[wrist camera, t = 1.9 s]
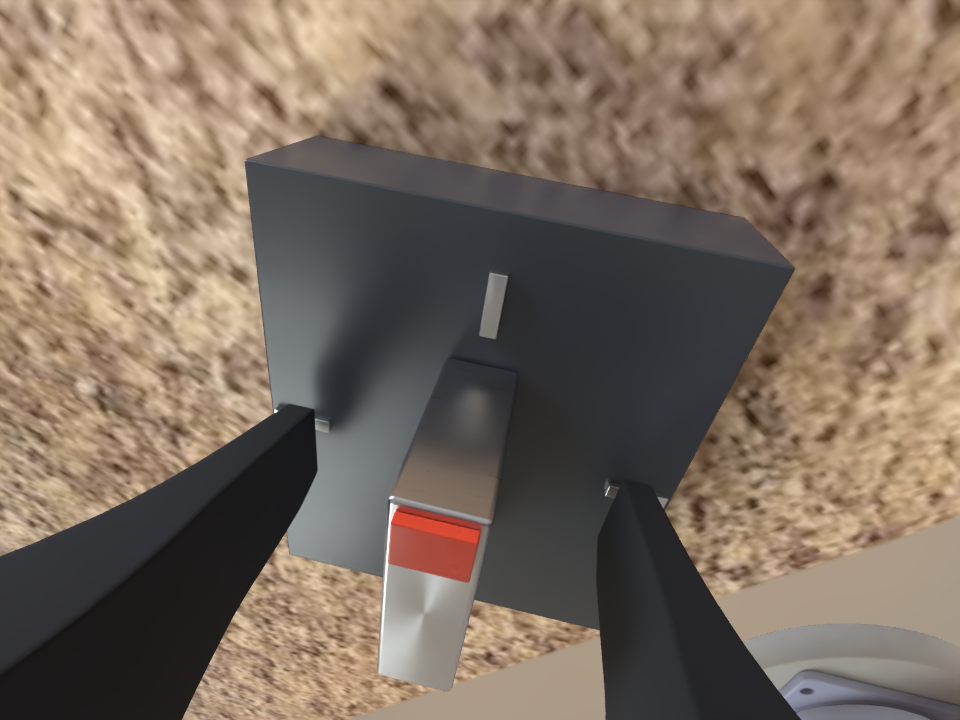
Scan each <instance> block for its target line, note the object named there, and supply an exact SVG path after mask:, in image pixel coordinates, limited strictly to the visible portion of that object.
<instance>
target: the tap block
mask: <svg viewBox="0 0 960 720" xmlns="http://www.w3.org/2000/svg"><path fill="white" fill-rule="evenodd" d="M245 169H246V178H247V186H248V195H249V204H250V213H251V222H252V230H253V239H254V248H255V257H256V265H257V274H258V283H259V292H260V301H261V309H262V318H263V327H264V336H265V345H266V353H267V362H268V371H269V380H270V388H271V397H272V406H273V414H274V413H275V412H277V411H279V410H280V409H282V408H283V407H285V406H286V405H288V404H294V405H298V406H303V407H307V408H312V409H315V428H316V446H317V465H318V472H317V474H316V476H315V478H314V481H313V483H312V485H311V487H310V489H309V492H308V494H307V496H306V498H305V500H304V502H303V504H302V506H301V508H300V510H299V512H298V513H297V515H296V517H295V518H294V520H293V521H292V523H291V525H290V526H289V528H288V529H287V538H288V546H289V554H290V555H294V556H298V557H302V558H306V559H310V560H314V561H318V562H322V563H327V564H331V565H335V566H339V567H343V568H347V569H351V570H355V571H359V572H363V573H367V574H371V575H376V576H380V577H383V567H384V551H385V535H386V519H387V503H388V496H389V494H390V492H391V489H392V487H393V484H394V482H395V480H396V477H397V475H398V472H399V470H400V468H401V465H402V463H403V461H404V458H405V456H406V453H407V451H408V449H409V446H410V444H411V442H412V439H413V437H414V434H415V432H416V430H417V427H418V425H419V422H420V420H421V418H422V415H423V413H424V411H425V408H426V406H427V403H428V401H429V399H430V396H431V394H432V392H433V389H434V387H435V384H436V382H437V380H438V377H439V375H440V372H441V370H442V368H443V365H444V363H445V361H446V360H447V359H448V358H452V359H456V360H461V361H465V362H470V363H475V364H479V365H484V366H489V367H493V368H498V369H502V370H507V371H512V372H515V373H517V374H518V377H519V379H518V384H517V390H516V396H515V401H514V407H513V413H512V419H511V424H510V430H509V436H508V442H507V447H506V453H505V459H504V464H503V470H502V476H501V482H500V487H499V493H498V499H497V505H496V510H495V516H494V522H493V526H492V530H491V534H490V538H489V542H488V546H487V550H486V554H485V558H484V562H483V566H482V570H481V574H480V578H479V582H478V586H477V590H476V594H475V598H474V600H478V601H482V602H486V603H490V604H494V605H498V606H502V607H506V608H510V609H514V610H518V611H522V612H527V613H531V614H535V615H539V616H543V617H547V618H551V619H555V620H559V621H563V622H567V623H571V624H576V625H580V626H584V627H588V628H592V629H596V630H600V626H599V614H598V601H597V587H596V563H597V540H598V534H599V532H600V530H601V528H602V525H603V523H604V521H605V519H606V516H607V514H608V512H609V510H610V507H611V505H612V503H613V501H614V498H615V496H616V494H617V492H618V489H619V487H620V485H621V483H622V480H623V479H627V480H631V481H635V482H640V483H644V484H649V485H651V486H652V488H653V490H654V492H655V493H656V495H657V497H658V499H659V501H660V503H661V505H662V507H663V509H664V511H665V509H666V507H667V505H668V504H669V502H670V500H671V498H672V496H673V494H674V492H675V491H676V489H677V487H678V485H679V483H680V481H681V479H682V478H683V476H684V474H685V472H686V470H687V468H688V466H689V465H690V463H691V461H692V459H693V457H694V455H695V453H696V452H697V450H698V448H699V446H700V444H701V442H702V440H703V439H704V437H705V435H706V433H707V431H708V429H709V427H710V426H711V424H712V422H713V420H714V418H715V416H716V414H717V413H718V411H719V409H720V407H721V405H722V403H723V401H724V400H725V398H726V396H727V394H728V392H729V390H730V389H731V387H732V385H733V383H734V381H735V379H736V377H737V376H738V374H739V372H740V370H741V368H742V366H743V364H744V363H745V361H746V359H747V357H748V355H749V353H750V351H751V350H752V348H753V346H754V344H755V342H756V340H757V338H758V337H759V335H760V333H761V331H762V329H763V327H764V325H765V324H766V322H767V320H768V318H769V316H770V314H771V312H772V311H773V309H774V307H775V305H776V303H777V301H778V299H779V298H780V296H781V294H782V292H783V290H784V288H785V286H786V285H787V283H788V281H789V279H790V277H791V275H792V273H793V272H794V269H795V268H794V266H793V265H792V264H791V263H790V262H789V261H788V260H787V259H786V258H785V257H784V256H783V255H782V254H781V253H780V252H779V251H778V250H777V249H775V248H774V247H773V246H772V245H771V244H770V243H769V242H768V241H767V240H766V239H765V238H764V237H763V236H762V235H761V234H760V233H759V232H758V231H757V230H756V229H755V228H754V227H753V226H752V225H751V224H750V223H749V222H748V221H747V220H746V219H745V218H742V217H737V216H731V215H726V214H721V213H716V212H711V211H705V210H700V209H695V208H690V207H685V206H679V205H674V204H669V203H664V202H659V201H653V200H648V199H643V198H638V197H633V196H627V195H622V194H617V193H612V192H607V191H601V190H596V189H591V188H586V187H581V186H575V185H570V184H565V183H560V182H555V181H549V180H544V179H539V178H534V177H529V176H523V175H518V174H513V173H508V172H503V171H497V170H492V169H487V168H482V167H477V166H471V165H466V164H461V163H456V162H451V161H445V160H440V159H435V158H430V157H425V156H420V155H414V154H409V153H404V152H399V151H394V150H388V149H383V148H378V147H373V146H368V145H362V144H357V143H352V142H347V141H342V140H336V139H331V138H326V137H321V136H314V137H311V138H308V139H305V140H302V141H299V142H296V143H293V144H290V145H287V146H284V147H281V148H278V149H275V150H272V151H269V152H266V153H263V154H260V155H257V156H254V157H251V158H248V159H245Z"/></svg>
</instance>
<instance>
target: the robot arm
mask: <svg viewBox="0 0 960 720" xmlns="http://www.w3.org/2000/svg"><path fill="white" fill-rule="evenodd" d="M317 472H318V465H317V446H316V428H315V409H312V408H307V407H303V406H298V405H294V404H288V405H286V406H285V407H283V408H282V409H280V410H279V411H277V412H275V413H274V414H272V415H271V416H269V417H268V418H266V419H265V420H263V421H262V422H260V423H259V424H257V425H256V426H254V427H252V428H251V429H249V430H248V431H246V432H245V433H243V434H242V435H240V436H239V437H237V438H236V439H234V440H233V441H231V442H229V443H228V444H226V445H225V446H223V447H221V448H220V449H218V450H217V451H215V452H213V453H212V454H210V455H209V456H207V457H205V458H204V459H202V460H201V461H199V462H197V463H196V464H194V465H192V466H190V467H189V468H187V469H185V470H183V471H182V472H180V473H178V474H177V475H175V476H173V477H171V478H170V479H168V480H166V481H164V482H163V483H161V484H159V485H157V486H155V487H154V488H152V489H150V490H148V491H146V492H144V493H142V494H140V495H138V496H136V497H135V498H133V499H131V500H129V501H127V502H125V503H122V504H120V505H118V506H116V507H114V508H112V509H110V510H108V511H106V512H104V513H102V514H100V515H98V516H95V517H93V518H91V519H89V520H87V521H84V522H82V523H80V524H77V525H75V526H73V527H70V528H68V529H66V530H63V531H61V532H59V533H56V534H54V535H52V536H49V537H47V538H45V539H42V540H40V541H38V542H35V543H33V544H31V545H28V546H26V547H23V548H21V549H18V550H15V551H13V552H10V553H8V554H5V555H2V556H0V720H182V718H183V716H184V714H185V712H186V710H187V707H188V705H189V703H190V701H191V699H192V697H193V695H194V693H195V691H196V689H197V687H198V685H199V683H200V681H201V679H202V677H203V675H204V673H205V671H206V669H207V667H208V665H209V663H210V661H211V659H212V657H213V655H214V653H215V651H216V649H217V647H218V645H219V643H220V641H221V639H222V637H223V635H224V633H225V631H226V629H227V627H228V626H229V624H230V622H231V620H232V618H233V616H234V614H235V613H236V611H237V609H238V607H239V606H240V604H241V602H242V601H243V599H244V597H245V596H246V594H247V592H248V591H249V589H250V588H251V586H252V585H253V583H254V581H255V580H256V578H257V577H258V575H259V574H260V572H261V570H262V569H263V567H264V566H265V564H266V563H267V561H268V559H269V558H270V556H271V555H272V553H273V552H274V550H275V548H276V547H277V545H278V544H279V542H280V541H281V539H282V537H283V536H284V534H285V533H286V531H287V529H288V528H289V526H290V525H291V523H292V521H293V520H294V518H295V517H296V515H297V513H298V512H299V510H300V508H301V506H302V504H303V502H304V500H305V498H306V496H307V494H308V492H309V489H310V487H311V485H312V483H313V481H314V478H315V476H316V474H317ZM596 587H597V601H598V614H599V626H600V638H601V649H602V662H603V674H604V686H605V708H606V720H960V706H959V705H954V704H950V703H946V702H942V701H938V700H934V699H930V698H926V697H922V696H917V695H913V694H909V693H905V692H901V691H897V690H893V689H889V688H885V687H880V686H876V685H872V684H868V683H864V682H860V681H856V680H852V679H848V678H844V677H839V676H835V675H831V674H827V673H823V672H819V671H814V670H805V671H801V672H800V673H798V674H797V675H796V676H795V677H794V678H793V679H792V680H791V681H790V682H789V683H788V684H786V685H785V686H784V687H783V688H782V689H781V690H780V691H778V690H777V689H776V687H775V686H774V685H773V683H772V682H771V681H770V679H769V678H768V677H767V675H766V674H765V672H764V671H763V670H762V668H761V667H760V666H759V664H758V663H757V662H756V660H755V659H754V657H753V656H752V655H751V653H750V652H749V651H748V649H747V648H746V646H745V645H744V643H743V642H742V641H741V639H740V638H739V636H738V635H737V633H736V632H735V630H734V629H733V627H732V626H731V624H730V623H729V621H728V619H727V618H726V616H725V615H724V613H723V612H722V610H721V609H720V607H719V606H718V604H717V602H716V601H715V599H714V597H713V596H712V594H711V593H710V591H709V589H708V588H707V586H706V584H705V583H704V581H703V579H702V578H701V576H700V574H699V572H698V571H697V569H696V567H695V566H694V564H693V562H692V560H691V559H690V557H689V555H688V553H687V552H686V550H685V548H684V546H683V545H682V543H681V541H680V539H679V537H678V535H677V533H676V532H675V530H674V528H673V526H672V524H671V522H670V520H669V518H668V517H667V515H666V513H665V511H664V509H663V507H662V505H661V503H660V501H659V499H658V497H657V495H656V493H655V492H654V490H653V488H652V486H651V485H649V484H644V483H640V482H635V481H631V480H627V479H623V480H622V483H621V485H620V487H619V489H618V492H617V494H616V496H615V498H614V501H613V503H612V505H611V507H610V510H609V512H608V514H607V516H606V519H605V521H604V523H603V525H602V528H601V530H600V532H599V534H598V540H597V563H596Z"/></svg>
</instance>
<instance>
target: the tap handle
mask: <svg viewBox="0 0 960 720" xmlns="http://www.w3.org/2000/svg"><path fill="white" fill-rule="evenodd" d="M518 379H519V377H518V374H517V373H515V372H512V371H507V370H502V369H498V368H493V367H489V366H484V365H479V364H475V363H470V362H465V361H461V360H456V359H452V358H448V359H447V360H446V361H445V363H444V365H443V368H442V370H441V372H440V375H439V377H438V380H437V382H436V384H435V387H434V389H433V392H432V394H431V396H430V399H429V401H428V403H427V406H426V408H425V411H424V413H423V415H422V418H421V420H420V422H419V425H418V427H417V430H416V432H415V434H414V437H413V439H412V442H411V444H410V446H409V449H408V451H407V453H406V456H405V458H404V461H403V463H402V465H401V468H400V470H399V472H398V475H397V477H396V480H395V482H394V484H393V487H392V489H391V492H390V494H389V496H388V503H387V519H386V535H385V551H384V567H383V584H382V600H381V616H380V632H379V648H378V664H377V672H378V673H379V674H380V675H383V676H387V677H391V678H395V679H399V680H403V681H407V682H411V683H415V684H418V685H422V686H426V687H430V688H434V689H438V690H442V691H447V692H448V691H450V690H451V688H452V686H453V682H454V678H455V674H456V670H457V666H458V662H459V658H460V654H461V650H462V646H463V642H464V638H465V634H466V630H467V626H468V622H469V618H470V614H471V610H472V606H473V602H474V598H475V594H476V590H477V586H478V582H479V578H480V574H481V570H482V566H483V562H484V558H485V554H486V550H487V546H488V542H489V538H490V534H491V530H492V526H493V522H494V516H495V510H496V505H497V499H498V493H499V487H500V482H501V476H502V470H503V464H504V459H505V453H506V447H507V442H508V436H509V430H510V424H511V419H512V413H513V407H514V401H515V396H516V390H517V384H518Z"/></svg>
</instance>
